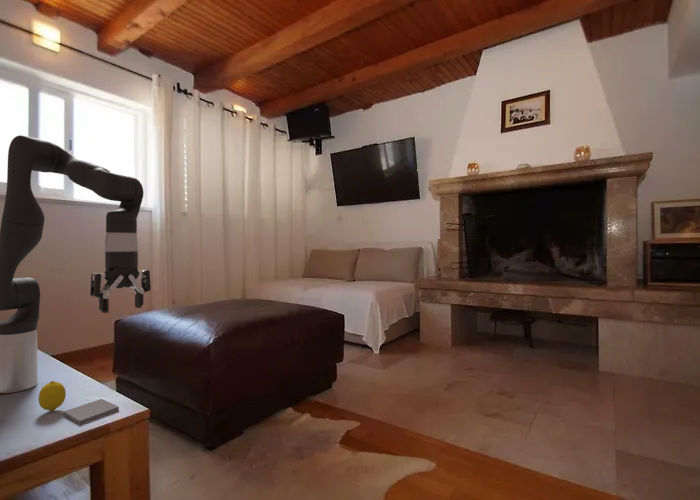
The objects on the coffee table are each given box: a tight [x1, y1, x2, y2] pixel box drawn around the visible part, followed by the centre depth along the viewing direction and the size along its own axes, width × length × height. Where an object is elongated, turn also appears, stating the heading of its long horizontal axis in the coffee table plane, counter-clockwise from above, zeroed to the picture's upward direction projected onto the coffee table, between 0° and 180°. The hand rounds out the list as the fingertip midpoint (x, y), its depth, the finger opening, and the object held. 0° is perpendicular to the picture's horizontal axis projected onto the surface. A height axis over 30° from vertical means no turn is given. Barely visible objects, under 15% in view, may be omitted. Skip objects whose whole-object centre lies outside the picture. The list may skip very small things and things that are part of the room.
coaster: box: [62, 398, 120, 426], centre depth 95 cm, size 9×9×1 cm
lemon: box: [38, 380, 66, 412], centre depth 96 cm, size 6×6×8 cm
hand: (122, 310), depth 98 cm, fingers open, 8 cm apart
